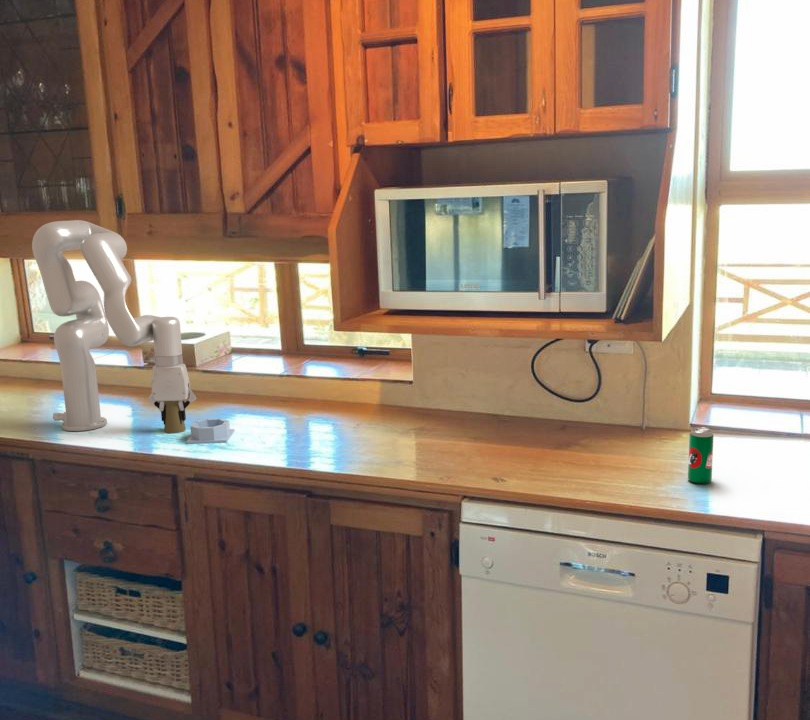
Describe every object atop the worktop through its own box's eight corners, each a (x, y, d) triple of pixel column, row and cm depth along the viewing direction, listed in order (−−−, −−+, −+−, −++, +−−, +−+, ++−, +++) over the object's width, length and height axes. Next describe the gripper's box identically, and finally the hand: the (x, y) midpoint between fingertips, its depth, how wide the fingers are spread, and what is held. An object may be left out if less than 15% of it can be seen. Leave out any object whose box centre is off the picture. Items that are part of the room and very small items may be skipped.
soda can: (711, 486, 189) (713, 433, 187) (686, 483, 191) (688, 431, 188) (711, 478, 194) (714, 427, 191) (688, 476, 195) (690, 425, 193)
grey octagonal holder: (186, 443, 233) (185, 429, 232) (195, 432, 244) (194, 418, 243) (226, 442, 233) (225, 428, 232) (234, 431, 244) (233, 417, 243)
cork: (188, 427, 249) (186, 390, 247) (181, 433, 243) (178, 395, 241) (168, 427, 250) (165, 390, 247) (160, 433, 244) (157, 395, 242)
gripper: (135, 364, 239) (141, 427, 242) (195, 362, 239) (200, 426, 242) (143, 358, 246) (148, 420, 250) (201, 357, 246) (206, 419, 250)
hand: (174, 422), depth 246 cm, fingers closed on cork, 3 cm apart
